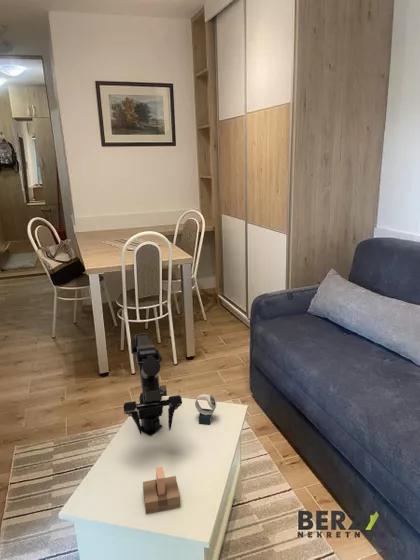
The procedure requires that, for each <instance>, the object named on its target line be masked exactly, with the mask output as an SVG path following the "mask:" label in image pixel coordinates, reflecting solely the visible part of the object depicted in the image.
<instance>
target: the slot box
mask: <svg viewBox="0 0 420 560" xmlns="http://www.w3.org/2000/svg"><path fill="white" fill-rule="evenodd" d="M142 492H143V500H144V502H143V503H144V509H145V515H148V514H153V513H158V512H162V511H163V512H164V511H167V510H174V509H178V508H181V495H180V490H179V486H178V481H177V477H176V475H173V476H168V477H165V495H163V496H157V479H151V480H146V481H142Z"/></svg>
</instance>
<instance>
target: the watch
mask: <svg viewBox="0 0 420 560" xmlns="http://www.w3.org/2000/svg"><path fill="white" fill-rule="evenodd" d="M201 398H202V399H205V400H206V401H207V404H208V406H209V408H202V407H201V405H200V404H199V401H198V400H199V399H201ZM194 405H195V406H194V407H195V408H196V411H197V412H198V413H199V414H198V425H203V426H205V425H206V426H210V425H211V423H212V419H213V414H214V412H215V410H216V408H217V401H216V399H215V397H214V396H213V395H212V394H209V393H201V394H199V395H198V396H197V397H196V400H195V402H194Z"/></svg>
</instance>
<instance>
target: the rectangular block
mask: <svg viewBox="0 0 420 560" xmlns="http://www.w3.org/2000/svg"><path fill="white" fill-rule="evenodd" d="M164 471H165V470H164V466H159V467H155V473H156V475H155V476H156V477H155V478H156V479H157V497H158V496H163V495H165V478H166V477H165V472H164ZM156 479H155V480H156Z"/></svg>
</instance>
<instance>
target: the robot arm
mask: <svg viewBox="0 0 420 560" xmlns="http://www.w3.org/2000/svg"><path fill="white" fill-rule="evenodd" d="M152 340H153V339H152V337H150V336H149V333H145V332H144V333H136V334H135V336H134V337H133V339H132V340H131V341H130V354H132V355H133V360H134V361H135V362H136V364H137V366H138V372H139V377H140V378H139V380H140V386H141V392H140V395H139V401H138V403H137V402H136V401H129V402H125V403H124V404H123V415H128V416H127V417H131V418H132V420H133V422H134V423H135V425H136V427H137V430H138V433H139V435H143V433H145V434H146V435H148V436H153V435H155V434H156V433H157V432H159V430H160V429H162V428H163V425H162V424H161V421H160V417H162V415H163V414H164V410H163V409H164V407H167V406H168V411H167V413H168V416H167V417H168V418H167V419H168V431H171V430H172V424H173V418H174V414H175V411H176V410H178V408H179V407H181V406H182V404H183V399H182V396H181V395H179V394H177V395H173V396H169V397H168V399H163V398H162V397H167V396H168V394H167V392H168V391H167V385H160V380H159V375H160V374H159V373H160V371H161V364H160V363H161V362H162V355H161V353H160V351H159V349H158V348H157V347H156V346H155V345H154V344H153V341H152ZM162 399H163V400H162ZM142 432H143V433H142Z"/></svg>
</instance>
